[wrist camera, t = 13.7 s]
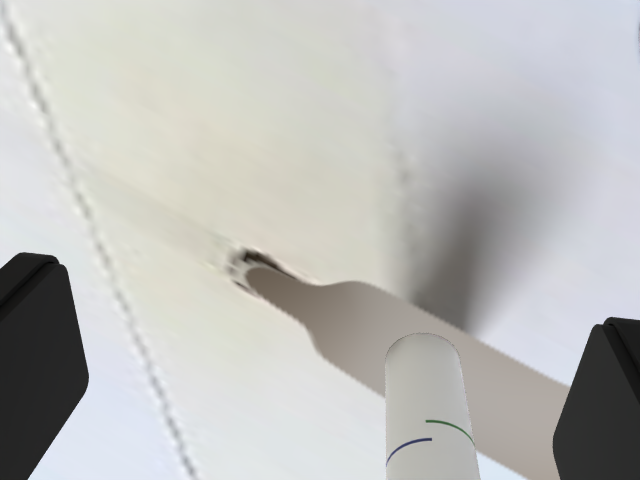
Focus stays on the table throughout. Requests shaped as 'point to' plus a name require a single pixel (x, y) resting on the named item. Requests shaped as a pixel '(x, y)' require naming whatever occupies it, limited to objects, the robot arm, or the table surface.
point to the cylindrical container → (427, 412)
